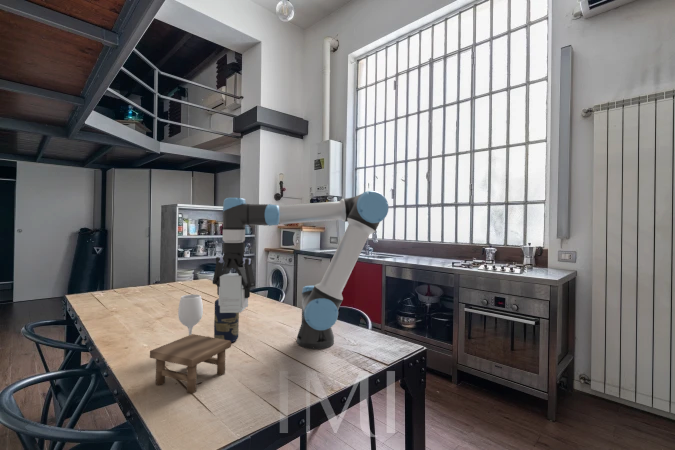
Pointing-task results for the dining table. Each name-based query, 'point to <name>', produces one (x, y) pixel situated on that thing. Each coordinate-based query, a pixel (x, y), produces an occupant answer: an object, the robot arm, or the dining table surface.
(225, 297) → the supplement box
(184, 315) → the wineglass
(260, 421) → the dining table surface
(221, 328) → the canister
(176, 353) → the stool
